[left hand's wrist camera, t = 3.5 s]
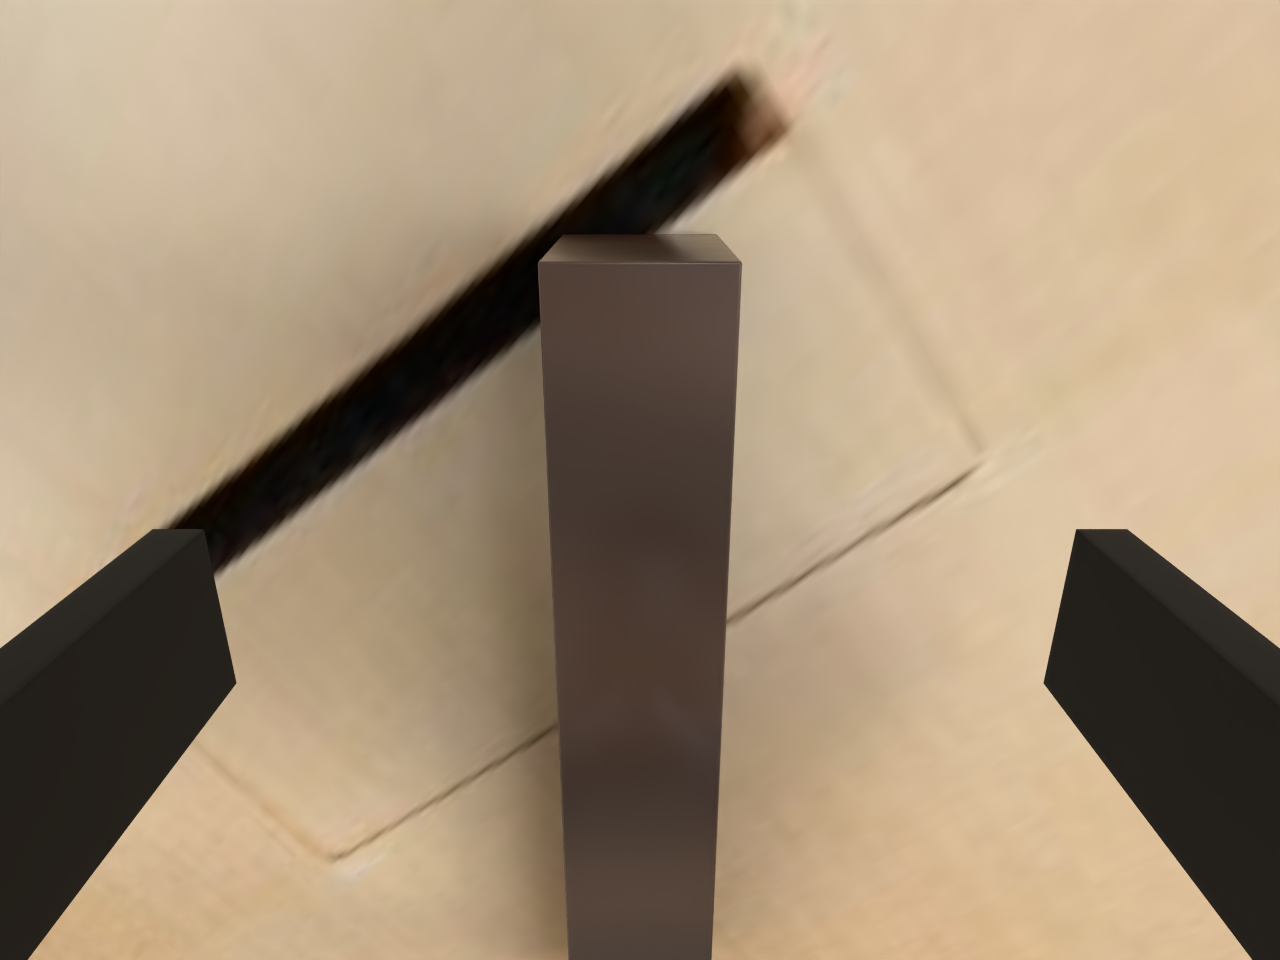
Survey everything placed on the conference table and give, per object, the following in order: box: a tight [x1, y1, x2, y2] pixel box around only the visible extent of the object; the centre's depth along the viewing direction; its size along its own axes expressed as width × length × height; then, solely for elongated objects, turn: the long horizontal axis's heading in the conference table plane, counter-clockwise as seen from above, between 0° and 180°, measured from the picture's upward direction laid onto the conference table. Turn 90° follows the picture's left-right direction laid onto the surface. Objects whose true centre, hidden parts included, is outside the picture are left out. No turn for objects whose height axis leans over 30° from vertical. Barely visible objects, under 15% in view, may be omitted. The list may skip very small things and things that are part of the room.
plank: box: [538, 234, 742, 960], centre depth 30 cm, size 32×5×7 cm, turn 0°
